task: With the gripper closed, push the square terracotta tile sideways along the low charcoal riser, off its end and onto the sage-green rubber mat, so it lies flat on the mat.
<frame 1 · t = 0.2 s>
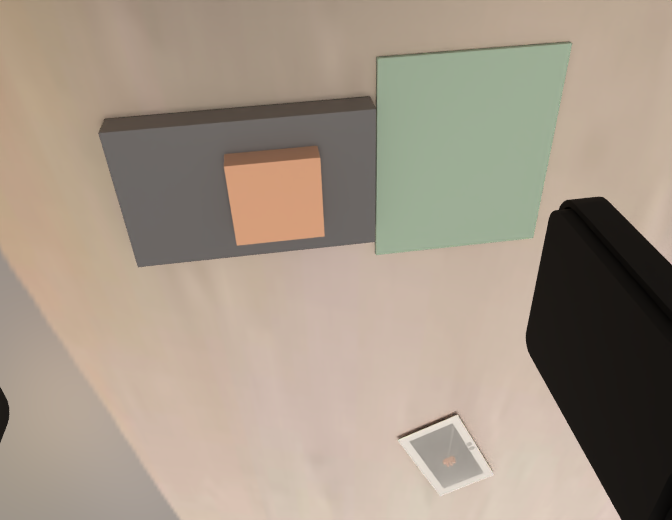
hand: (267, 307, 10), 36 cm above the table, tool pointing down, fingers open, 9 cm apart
riser: (249, 177, 49), on the table
terracotta tile: (275, 190, 47), point 2 cm above the table, touching riser
mat: (463, 157, 50), on the table
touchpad: (445, 449, 76), on the table
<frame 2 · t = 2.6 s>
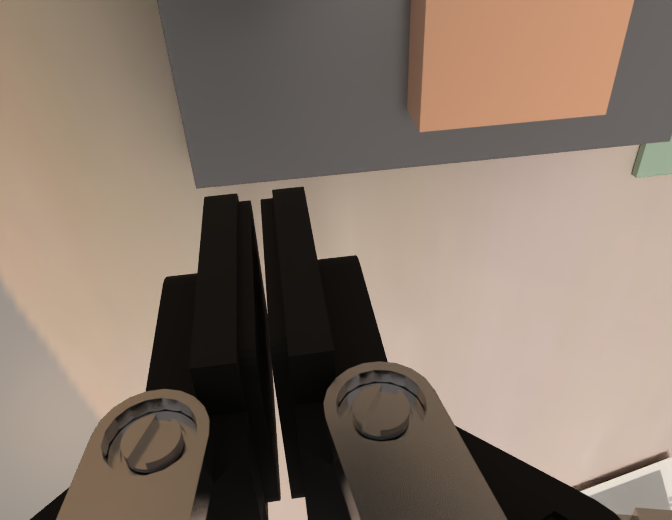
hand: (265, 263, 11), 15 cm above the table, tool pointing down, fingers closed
terracotta tile: (507, 7, 21), point 2 cm above the table, touching riser
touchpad: (628, 503, 51), on the table
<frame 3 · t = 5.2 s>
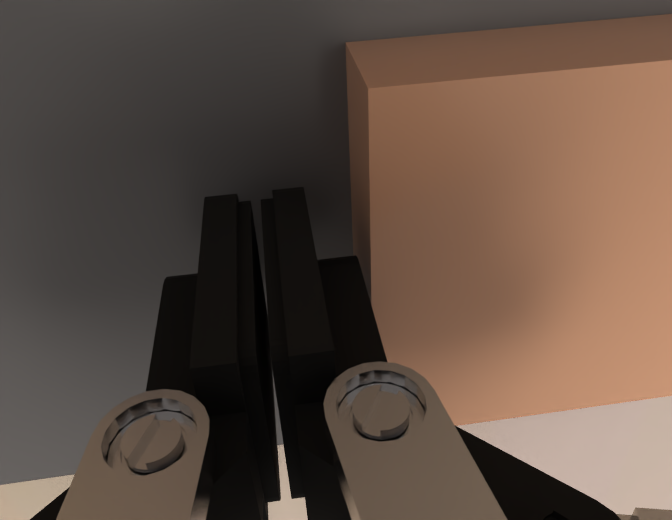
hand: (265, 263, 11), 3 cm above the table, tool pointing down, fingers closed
riser: (384, 164, 13), on the table
terracotta tile: (532, 212, 11), point 3 cm above the table, touching gripper, riser
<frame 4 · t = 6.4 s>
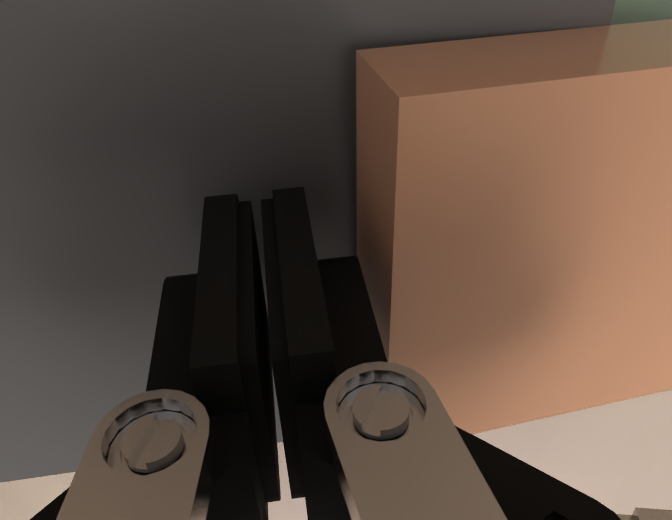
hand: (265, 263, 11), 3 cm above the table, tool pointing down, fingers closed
riser: (70, 195, 13), on the table
terracotta tile: (532, 217, 11), point 3 cm above the table, tilted 6°, touching riser
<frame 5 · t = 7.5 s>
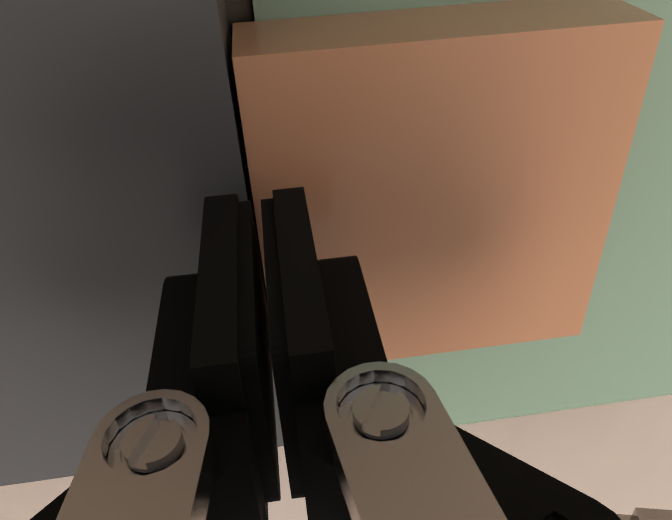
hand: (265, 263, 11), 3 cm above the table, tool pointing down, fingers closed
terracotta tile: (416, 175, 13), resting on mat
mat: (600, 142, 14), on the table
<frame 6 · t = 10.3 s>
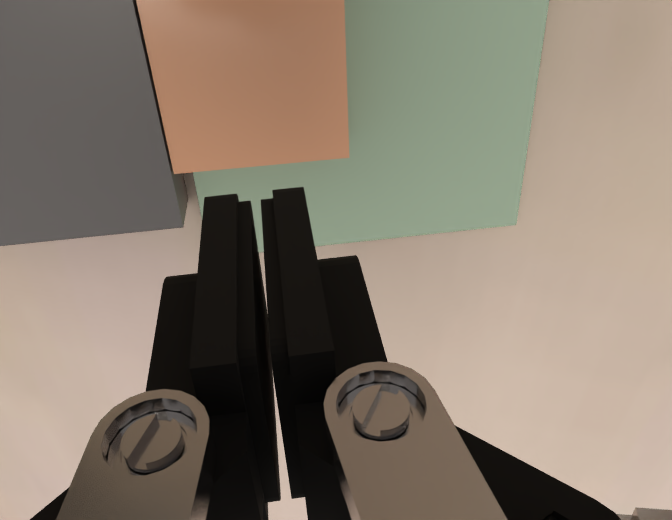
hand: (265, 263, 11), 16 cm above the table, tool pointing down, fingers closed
terracotta tile: (251, 62, 23), resting on mat
mat: (360, 48, 24), on the table
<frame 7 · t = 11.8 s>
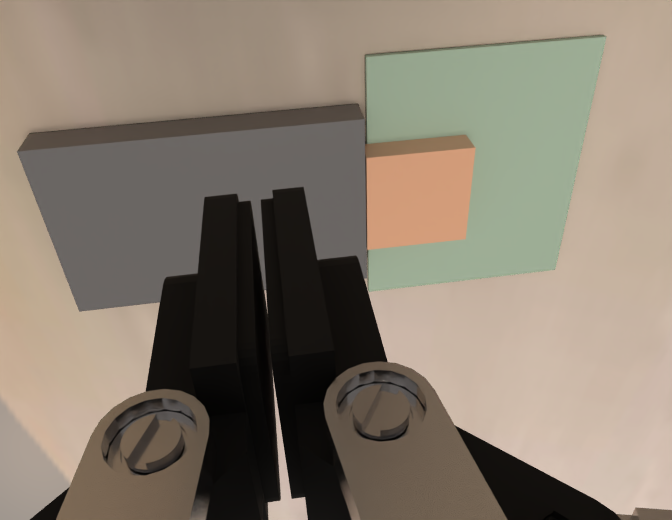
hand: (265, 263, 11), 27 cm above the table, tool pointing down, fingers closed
riser: (213, 202, 40), on the table
terracotta tile: (411, 186, 41), resting on mat
mat: (472, 175, 42), on the table
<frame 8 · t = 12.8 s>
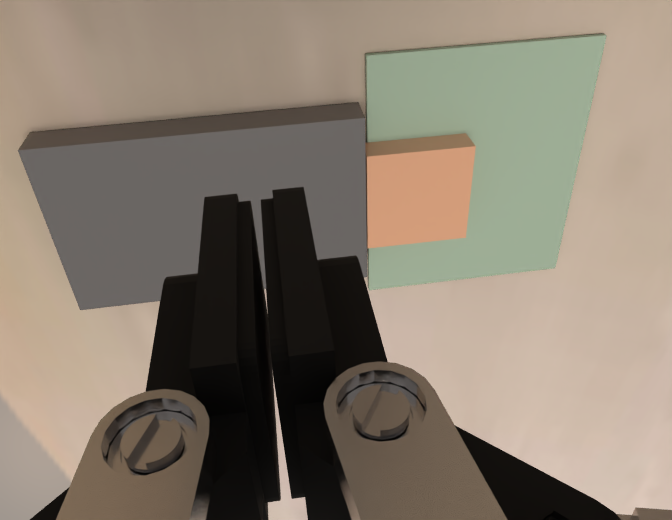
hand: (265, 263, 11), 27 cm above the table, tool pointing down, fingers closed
riser: (213, 201, 40), on the table
terracotta tile: (412, 185, 41), resting on mat
mat: (472, 174, 42), on the table
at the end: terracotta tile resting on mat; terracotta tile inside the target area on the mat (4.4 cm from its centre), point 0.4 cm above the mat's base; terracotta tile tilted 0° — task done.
